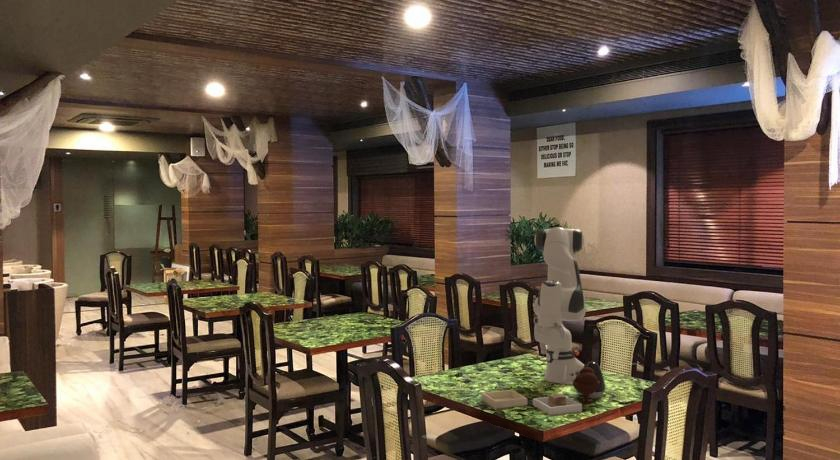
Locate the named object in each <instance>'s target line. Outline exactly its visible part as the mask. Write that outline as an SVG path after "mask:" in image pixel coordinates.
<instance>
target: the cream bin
mask: <svg viewBox="0 0 840 460" xmlns="http://www.w3.org/2000/svg"><path fill="white" fill-rule="evenodd" d="M481 403H484V405H486V406H488V407H489V408H491V409H493V410H494V411H503V410H504V411H505V408H513V407H514V408H515V407H522V406H528V397H526V396H524V395H522V394H520V393H519V392H517V391H515V390H514V389H507V390H496V391H487V392H486V391H485V392H481Z"/></svg>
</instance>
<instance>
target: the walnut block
mask: <svg viewBox="0 0 840 460" xmlns="http://www.w3.org/2000/svg"><path fill="white" fill-rule="evenodd" d="M547 397H548V406H550V407H557V406H566V397H567V396H566V395H563V394H562V393H553V394H552V393H551V394H548V396H547Z"/></svg>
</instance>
